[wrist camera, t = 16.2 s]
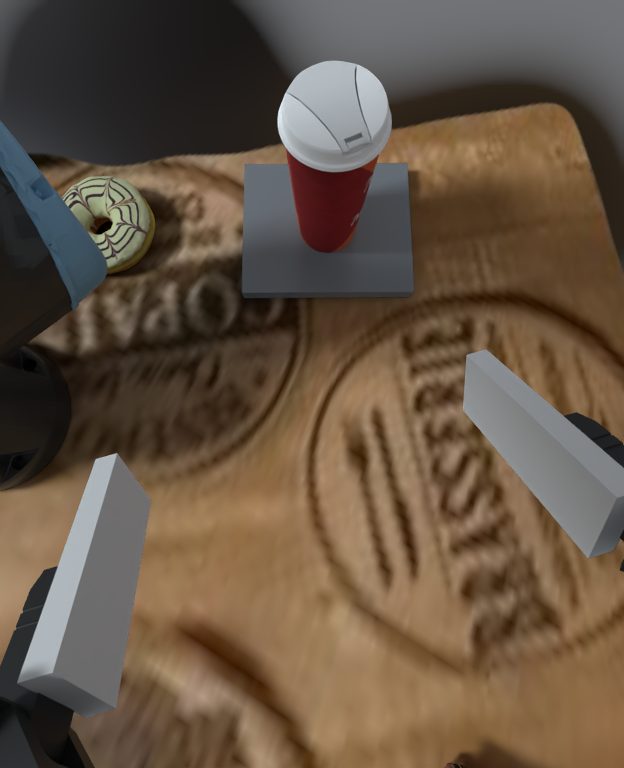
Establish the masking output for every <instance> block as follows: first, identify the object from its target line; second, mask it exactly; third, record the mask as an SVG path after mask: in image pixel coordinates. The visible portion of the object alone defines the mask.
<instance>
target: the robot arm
mask: <svg viewBox="0 0 624 768" xmlns="http://www.w3.org/2000/svg"><path fill="white" fill-rule="evenodd" d="M106 274H107V261H106V259H105V256H104V254H103V253H102V251H101V250H100V248H99V247H98V245H97V244H96V243H95V241H94V240H93V239H92V237H91V236H90V234H89V233H88V232H87V230H86V229H85V228H84V227H83V225H82V224H81V223H80V221H79V220H78V219H77V217H76V216H75V215H74V214H73V212H72V211H71V210H70V208H69V207H68V206H67V205H66V203H65V202H64V201H63V199H62V198H61V197H60V196H59V194H58V193H57V192H56V191H55V190H54V189H53V188H52V186H51V185H50V184H49V182H48V180H47V179H46V178H45V177H44V175H43V174H42V173H41V172H40V170H39V169H38V168H37V166H36V165H35V163H34V162H33V161H32V160H31V158H30V157H29V156H28V154H27V153H26V152H25V151H24V149H23V148H22V147H21V146H20V144H19V143H18V142H17V141H16V139H15V138H14V137H13V136H12V134H11V133H10V132H9V131H8V130H7V128H6V127H5V126H4V125H3V123H2V122H1V121H0V490H5V489H8V488H12V487H14V486H17V485H19V484H21V483H23V482H25V481H27V480H29V479H30V478H32V477H33V476H35V475H36V474H37V473H39V472H40V471H41V470H42V469H43V468H44V467H45V466H46V465H47V464H48V463H49V462H50V461H51V460H52V458H53V457H54V456H55V454H56V453H57V452H58V450H59V448H60V447H61V445H62V443H63V441H64V438H65V436H66V433H67V430H68V426H69V422H70V415H71V401H70V394H69V390H68V387H67V384H66V382H65V379H64V377H63V375H62V374H61V372H60V371H59V369H58V368H57V367H56V365H55V364H54V363H53V362H52V361H51V360H50V359H48V358H47V357H46V356H44V355H43V354H41V353H40V352H38V351H36V350H34V349H31V348H28V347H26V346H24V345H25V344H26V343H28V342H29V341H31V340H32V339H33V338H35V337H36V336H37V335H39V334H40V333H42V332H43V331H44V330H46V329H47V328H48V327H50V326H51V325H52V324H54V323H55V322H57V321H58V320H59V319H61V318H62V317H63V316H65V315H66V314H67V313H69V312H70V311H72V310H75V309H76V308H77V307H78V306H79V302H80V301H81V300H83V299H84V298H85V297H86V296H87V295H88V294H89V293H91V292H92V291H93V290H94V289H95V288H96V287H97V286H99V285H100V284H101V283H102V282H103V280H104V279H105V276H106ZM463 410H464V412H465V413H466V414H467V415H468V416H469V418H470V419H471V420H472V421H473V422H474V424H475V425H476V426H477V427H478V428H479V429H480V431H481V432H482V433H483V434H484V435H485V437H486V438H487V439H488V440H489V441H490V443H491V444H492V445H493V446H494V447H495V448H496V450H497V451H498V452H499V453H500V454H501V456H502V457H503V458H504V459H505V460H506V462H507V463H508V464H509V465H510V466H511V467H512V469H513V470H514V471H515V472H516V473H517V475H518V476H519V477H520V478H521V479H522V481H523V482H524V483H525V484H526V485H527V486H528V488H529V489H530V490H531V491H532V492H533V494H534V495H535V496H536V497H537V498H538V500H539V501H540V502H541V503H542V504H543V505H544V507H545V508H546V509H547V510H548V511H549V513H550V514H551V515H552V516H553V517H554V519H555V520H556V521H557V522H558V523H559V524H560V526H561V527H562V528H563V529H564V530H565V532H566V533H567V534H568V535H569V536H570V538H571V539H572V540H573V541H574V542H575V543H576V545H577V546H578V547H579V548H580V549H581V551H582V552H583V553H584V554H585V555H586V557H587V558H588V559H589V558H592V557H595V556H598V555H601V554H604V553H607V552H611V551H614V549H615V547H616V546H617V544H618V542H619V540H620V538H621V539H622V540H623V541H624V445H623V443H622V442H621V441H620V440H618V439H617V438H616V437H615V436H611V434H610V432H608V431H607V430H606V429H605V428H603V427H602V426H601V425H600V424H598V423H597V422H596V421H594V420H592V419H590V418H588V417H585V416H583V415H581V414H579V413H577V412H576V413H573V414H569V415H566V416H563V415H562V414H560V413H559V412H558V411H557V410H556V409H555V408H553V407H552V406H551V405H550V404H549V403H548V402H546V401H545V400H544V399H543V398H542V397H541V396H540V395H538V394H537V393H536V392H535V391H534V390H533V389H531V388H530V387H529V386H528V385H527V384H526V383H524V382H523V381H522V380H521V379H520V378H519V377H517V376H516V375H515V374H514V373H513V372H512V371H511V370H509V369H508V368H507V367H506V366H505V365H504V364H502V363H501V362H500V361H499V360H498V359H497V358H495V357H494V356H493V355H492V354H491V353H490V352H488V351H487V350H482V351H479V352H475V353H471V354H468V355H467V358H466V373H465V388H464V404H463ZM150 505H151V499H150V498H149V496H148V495H147V494H146V492H145V491H144V489H143V488H142V487H141V485H140V484H139V483H138V481H137V480H136V478H135V477H134V476H133V474H132V473H131V471H130V470H129V469H128V467H127V466H126V465H125V463H124V462H123V460H122V459H121V458H120V456H119V455H118V453H116V454H112V455H109V456H105V457H102V458H98V459H96V460H95V463H94V466H93V468H92V471H91V474H90V477H89V480H88V483H87V485H86V488H85V491H84V494H83V497H82V500H81V503H80V505H79V508H78V511H77V514H76V517H75V520H74V522H73V525H72V528H71V531H70V534H69V537H68V539H67V542H66V545H65V548H64V551H63V554H62V556H61V559H60V562H59V565H58V566H56V567H53V568H50V569H46V570H44V571H43V573H42V574H41V576H40V577H39V578H38V580H37V581H36V583H35V584H34V585H33V587H32V588H31V590H30V592H29V595H28V597H27V600H26V602H25V605H24V607H23V613H22V614H21V615H20V618H19V620H18V623H17V625H16V628H17V629H16V630H15V631H14V633H13V635H12V638H11V640H10V643H9V645H8V648H7V651H6V653H5V656H4V658H3V661H2V663H1V666H0V768H95V767H94V766H93V764H92V762H91V760H90V758H89V756H88V754H87V753H86V751H85V749H84V747H83V745H82V743H81V741H80V739H79V738H78V736H77V734H76V732H75V731H74V730H73V729H72V728H71V727H70V725H71V721H72V717H73V712H76V713H78V714H80V715H82V716H84V717H86V718H87V717H90V716H93V715H97V714H100V713H103V712H106V711H109V710H112V709H116V705H117V699H118V693H119V687H120V681H121V675H122V670H123V664H124V658H125V652H126V646H127V640H128V634H129V628H130V622H131V617H132V611H133V605H134V599H135V593H136V587H137V581H138V575H139V569H140V564H141V558H142V552H143V546H144V540H145V534H146V528H147V522H148V516H149V510H150ZM620 571H623V572H624V560H623V562H622V563H621V567H620Z"/></svg>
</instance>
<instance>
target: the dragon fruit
mask: <svg viewBox="0 0 624 768" xmlns="http://www.w3.org/2000/svg"><path fill="white" fill-rule="evenodd" d="M460 766H461V767H462V768H467V766H463V765H461V764H460ZM445 768H460V767H459V766H458V765H456V764H453V763H448V764H447V766H446V767H445Z"/></svg>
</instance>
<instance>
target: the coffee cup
mask: <svg viewBox="0 0 624 768" xmlns="http://www.w3.org/2000/svg"><path fill="white" fill-rule="evenodd" d="M391 124H392V121H391V113H390V109H389V106H388V99H387V96H386V93H385V90H384V88H383V86H382V84H381V83H380V81H379V80H378V79H377V78H376V77H375V76H374V75H373V74H372V73H371V72H369V71H368V70H367V69H365V68H363V67H362V66H360V65H357V67H356V64H353V63H348V62H342V61H327V62H322V63H319V64H316V65H313V66H311V67H309V68H307V69H305V70H304V71H302V72H301V73H300V74H299V75H298V76H297V77H296V78H295V79H294V81H293V82H292V83H291V85H290V87H289V88H288V90H287V93H285V96H284V99H283V101H282V103H281V106H280V109H279V113H278V129H279V134H280V137H281V139H282V142H283V144H284V145H285V147H286V151H287V158H288V164H289V171H290V177H291V183H292V190H293V196H294V202H295V208H296V214H297V220H298V225H299V230H300V234H301V236H302V238H303V240H304V242H305V243H306V244H307V245H308V246H309V247H311V248H312V249H314V250H316V251H319V252H323V253H331V252H336V251H339V250H341V249H342V248H344V247H345V246H346V245H347V244H348V243H349V242H350V241H351V239H352V237H353V235H354V233H355V230H356V227H357V224H358V221H359V218H360V215H361V211H362V208H363V205H364V202H365V199H366V195H367V192H368V189H369V186H370V182H371V179H372V176H373V173H374V169H375V166H376V163H377V159H378V156H379V153H380V152H381V151H382V149H383V148H384V147H385V145H386V143H387V141H388V139H389V135H390V132H391Z"/></svg>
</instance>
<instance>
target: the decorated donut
mask: <svg viewBox="0 0 624 768" xmlns="http://www.w3.org/2000/svg"><path fill="white" fill-rule="evenodd" d="M62 199H63V201H64V202H65V203H66V205H67V206H68V207H69V208H70V210H71V211H72V212H73V214H74V215H75V216H76V217H77V219H78V220H79V221H80V223H81V224H82V225H83V227H84V228H85V229H86V230H87V232H88V233H89V234H90V236H91V237H92V239H93V240H94V241H95V243H96V244H97V245H98V247H99V248H100V250H101V251H102V253H103V254H104V256H105V259H106V261H107V274H111V273H115V272H119V271H123V270H126V269H128V268H130V267H132V266H133V265H135V264H136V263H138V261H140V259H142V258H143V256H144V255H145V254H146V253H147V251H148V250H149V247H150V245H151V243H152V240H153V237H154V231H155V219H154V215H153V213H152V211H151V209H150V206H149V205H148V204H147V202H146V200H145V198H144V197H142V195H141V194H140V193H139V191H138V190H137V189H136V188H135V187H134V186H133V185H132V184H130V183H129V182H128V181H126V180H123V179H119V178H117V177H111V176H102V177H88V178H86V179H84V180H82V181H81V182H79V183H78V184H75V185H73V186H72V187H71V188H70V189H69V190H68V191H67V192H66V193H65V195H64V196H63V197H62ZM108 221H111V222H113V225H112V227H111V229H110V230H108V231H106V232H104V233H103V234H101V235H96V232H97V230H98V228H99V227H100V225H101V224H103V223H105V222H108Z"/></svg>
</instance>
